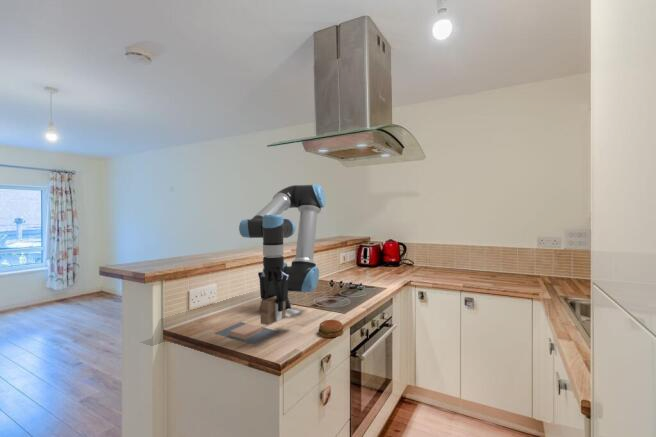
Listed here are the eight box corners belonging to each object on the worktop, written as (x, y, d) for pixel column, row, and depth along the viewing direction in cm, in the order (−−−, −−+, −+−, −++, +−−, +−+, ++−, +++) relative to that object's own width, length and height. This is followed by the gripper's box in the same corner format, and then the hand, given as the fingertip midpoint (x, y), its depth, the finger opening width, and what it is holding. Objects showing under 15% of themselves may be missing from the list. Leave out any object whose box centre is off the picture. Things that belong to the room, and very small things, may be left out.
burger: (348, 334, 120) (347, 322, 120) (328, 340, 115) (328, 328, 115) (333, 327, 128) (333, 316, 128) (314, 332, 123) (314, 320, 123)
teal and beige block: (247, 323, 126) (229, 331, 118) (261, 326, 122) (245, 334, 114) (247, 328, 126) (230, 336, 118) (261, 332, 122) (245, 340, 114)
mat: (280, 332, 123) (280, 331, 123) (255, 346, 110) (255, 344, 110) (240, 323, 134) (240, 322, 134) (214, 334, 122) (214, 333, 122)
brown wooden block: (270, 325, 108) (270, 303, 108) (257, 322, 111) (257, 300, 111) (300, 312, 124) (300, 292, 124) (288, 309, 127) (288, 290, 127)
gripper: (297, 256, 113) (298, 319, 114) (263, 253, 122) (264, 312, 122) (284, 258, 107) (285, 325, 107) (249, 255, 115) (250, 318, 116)
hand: (274, 318), depth 115 cm, fingers closed on brown wooden block, 3 cm apart
